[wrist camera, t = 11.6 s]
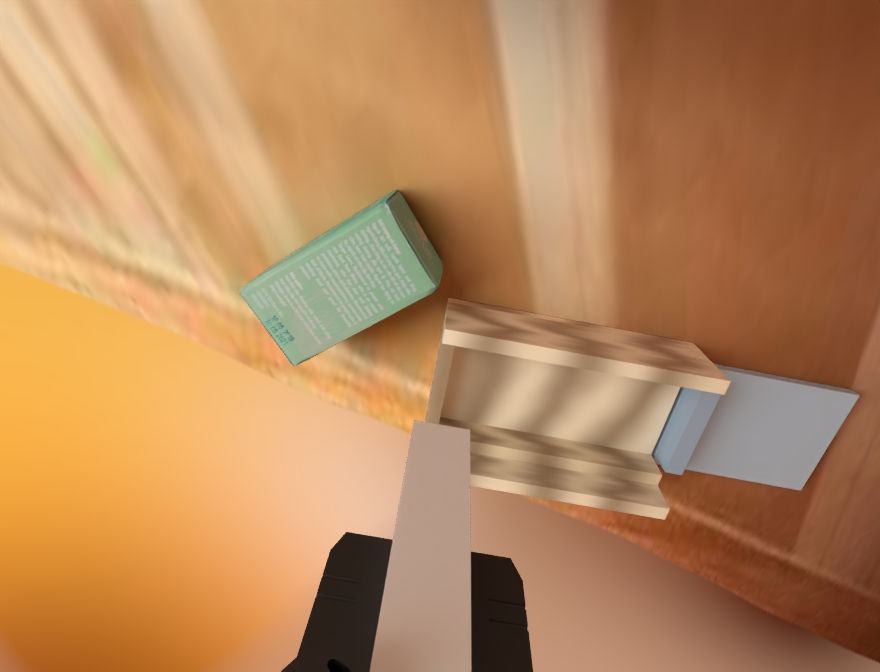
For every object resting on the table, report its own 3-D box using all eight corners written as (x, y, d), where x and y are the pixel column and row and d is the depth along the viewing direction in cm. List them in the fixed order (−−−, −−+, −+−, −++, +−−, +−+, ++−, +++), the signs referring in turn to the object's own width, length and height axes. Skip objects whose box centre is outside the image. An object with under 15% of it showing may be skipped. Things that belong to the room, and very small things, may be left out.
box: (447, 261, 43) (442, 289, 36) (319, 332, 46) (293, 370, 39) (401, 184, 40) (386, 198, 33) (270, 264, 44) (233, 292, 37)
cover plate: (646, 453, 50) (661, 480, 46) (689, 356, 45) (708, 378, 42) (791, 480, 50) (817, 509, 47) (848, 387, 46) (880, 410, 42)
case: (422, 429, 49) (415, 476, 43) (448, 297, 44) (444, 329, 37) (639, 467, 50) (664, 519, 44) (693, 342, 44) (730, 381, 38)
